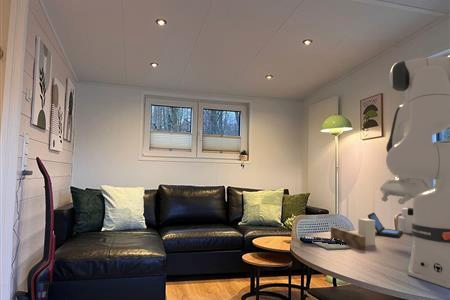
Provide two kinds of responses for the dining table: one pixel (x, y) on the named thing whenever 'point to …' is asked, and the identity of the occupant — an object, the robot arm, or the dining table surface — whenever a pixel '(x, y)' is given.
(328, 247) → the grey flat board
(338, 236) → the door edge
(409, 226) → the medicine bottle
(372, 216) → the handheld game console
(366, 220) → the block
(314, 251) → the dining table surface
